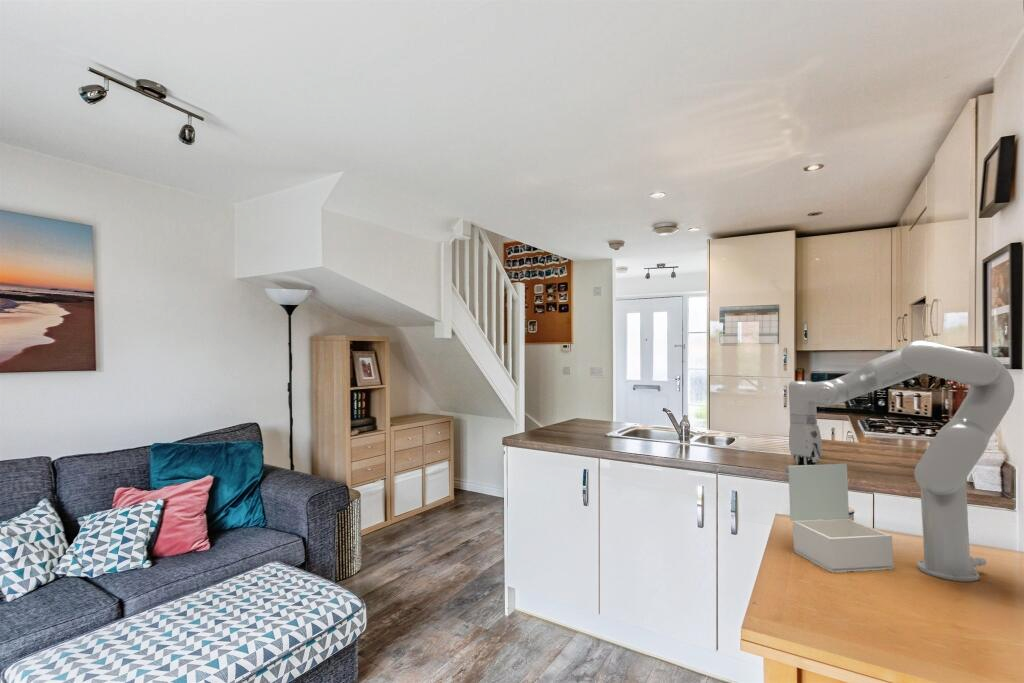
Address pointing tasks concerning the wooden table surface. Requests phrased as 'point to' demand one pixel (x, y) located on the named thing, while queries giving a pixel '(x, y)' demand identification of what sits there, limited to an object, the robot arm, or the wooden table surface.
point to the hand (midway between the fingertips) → (805, 477)
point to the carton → (843, 545)
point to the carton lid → (818, 492)
